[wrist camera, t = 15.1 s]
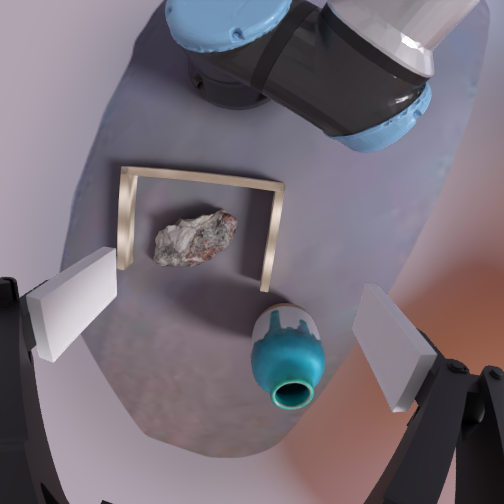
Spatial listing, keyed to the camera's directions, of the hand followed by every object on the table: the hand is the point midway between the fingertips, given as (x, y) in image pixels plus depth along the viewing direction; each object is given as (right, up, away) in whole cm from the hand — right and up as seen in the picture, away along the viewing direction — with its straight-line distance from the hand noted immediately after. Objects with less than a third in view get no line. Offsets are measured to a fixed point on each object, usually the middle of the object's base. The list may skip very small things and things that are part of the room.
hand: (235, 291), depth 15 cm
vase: (+6, -10, +37) cm, 39 cm away
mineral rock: (-8, +4, +34) cm, 35 cm away
